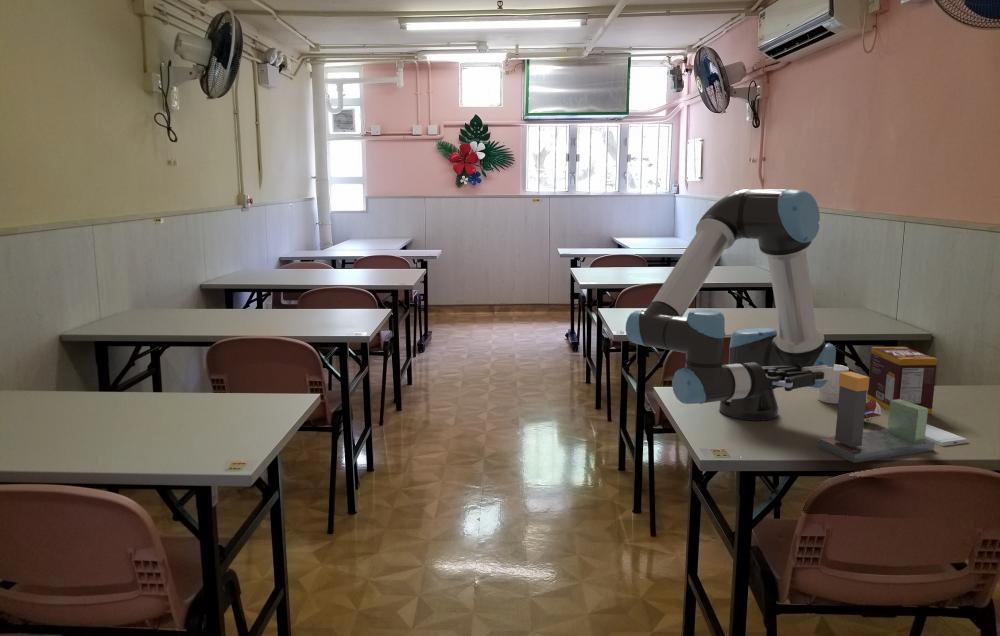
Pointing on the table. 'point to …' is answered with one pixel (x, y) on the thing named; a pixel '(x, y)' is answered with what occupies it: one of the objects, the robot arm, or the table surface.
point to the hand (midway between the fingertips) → (828, 372)
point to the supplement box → (901, 376)
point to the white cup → (832, 386)
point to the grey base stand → (888, 436)
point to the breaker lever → (851, 408)
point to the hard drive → (942, 436)
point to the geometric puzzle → (872, 410)
